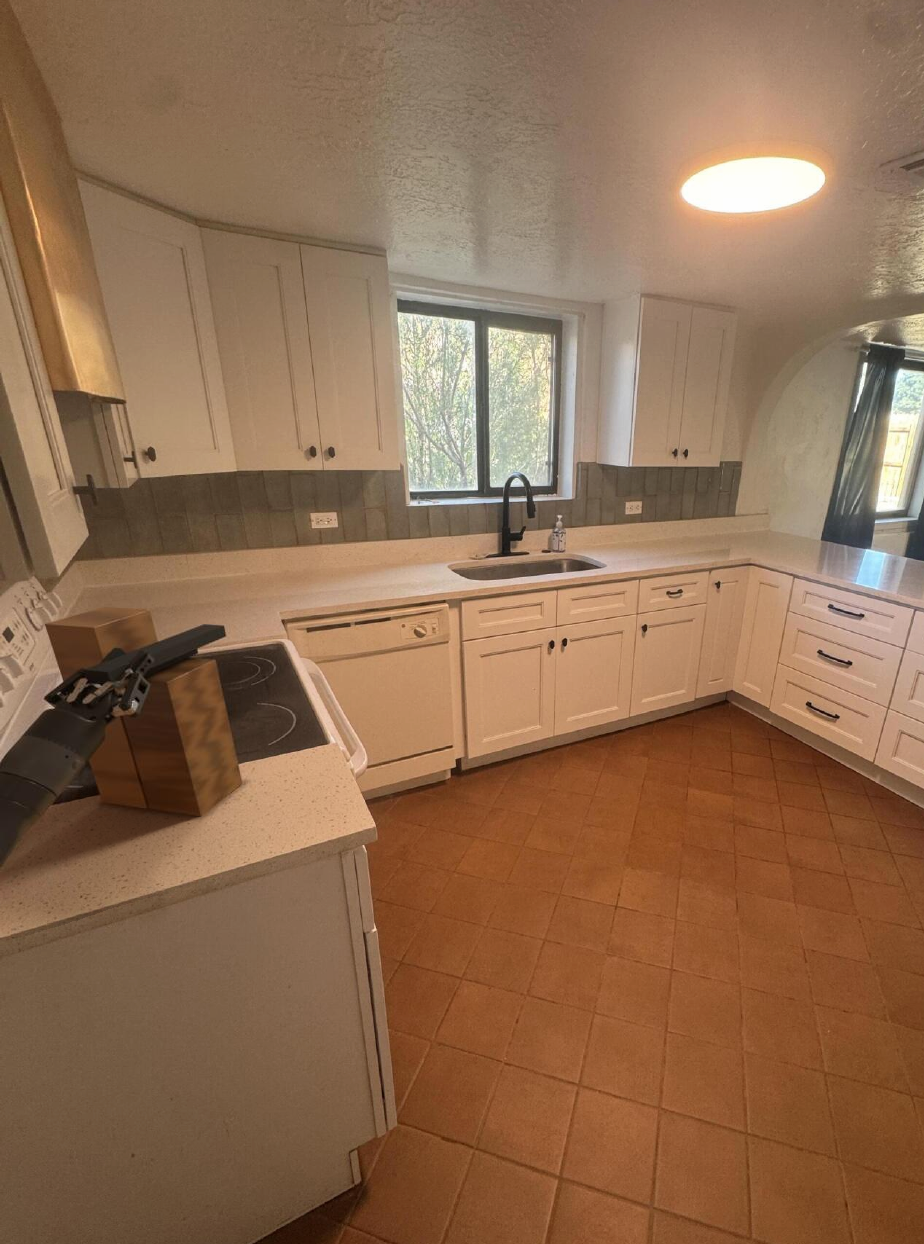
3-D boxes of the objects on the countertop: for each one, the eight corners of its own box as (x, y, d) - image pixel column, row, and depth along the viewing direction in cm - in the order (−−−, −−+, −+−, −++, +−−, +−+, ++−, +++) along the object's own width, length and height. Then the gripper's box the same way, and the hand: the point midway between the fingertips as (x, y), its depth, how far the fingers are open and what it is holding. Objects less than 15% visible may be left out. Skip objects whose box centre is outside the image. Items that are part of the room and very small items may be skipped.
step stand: (201, 816, 94) (153, 631, 83) (102, 802, 97) (44, 624, 86) (242, 783, 103) (205, 613, 92) (151, 771, 107) (104, 606, 95)
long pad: (111, 685, 78) (107, 672, 77) (86, 683, 78) (82, 669, 78) (226, 636, 98) (224, 625, 97) (206, 635, 99) (204, 623, 98)
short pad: (138, 680, 86) (135, 667, 86) (116, 678, 87) (112, 665, 86) (198, 653, 97) (196, 642, 97) (178, 651, 98) (175, 640, 97)
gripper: (76, 743, 68) (161, 638, 79) (-18, 732, 71) (76, 631, 82) (118, 774, 74) (192, 671, 85) (29, 762, 77) (112, 665, 87)
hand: (135, 652), depth 83 cm, fingers closed on long pad, 4 cm apart
